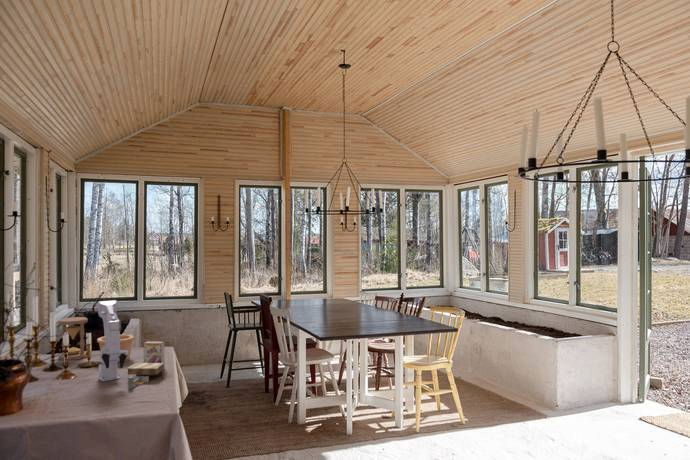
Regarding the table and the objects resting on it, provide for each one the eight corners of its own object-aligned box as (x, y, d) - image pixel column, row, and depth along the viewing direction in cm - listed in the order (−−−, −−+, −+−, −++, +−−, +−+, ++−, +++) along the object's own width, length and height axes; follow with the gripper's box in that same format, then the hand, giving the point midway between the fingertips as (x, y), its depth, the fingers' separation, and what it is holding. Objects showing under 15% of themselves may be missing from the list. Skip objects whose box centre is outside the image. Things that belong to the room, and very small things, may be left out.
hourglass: (52, 358, 363) (51, 320, 363) (74, 353, 379) (74, 316, 379) (72, 361, 356) (71, 322, 356) (94, 355, 372) (93, 317, 372)
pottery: (97, 358, 364) (96, 336, 363) (133, 354, 373) (132, 333, 373) (97, 365, 344) (97, 342, 344) (135, 361, 353) (135, 339, 353)
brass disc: (136, 385, 301) (136, 383, 301) (132, 383, 305) (132, 381, 305) (145, 383, 304) (145, 381, 304) (141, 381, 308) (141, 380, 308)
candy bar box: (143, 370, 331) (143, 342, 331) (147, 368, 336) (146, 341, 336) (161, 370, 330) (161, 343, 330) (165, 368, 335) (164, 341, 335)
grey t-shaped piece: (122, 389, 293) (122, 377, 293) (134, 381, 308) (134, 370, 308) (137, 389, 293) (137, 377, 293) (148, 381, 308) (148, 370, 308)
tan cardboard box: (127, 380, 309) (127, 368, 309) (136, 375, 321) (136, 362, 321) (156, 380, 308) (156, 368, 308) (164, 375, 320) (164, 362, 320)
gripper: (97, 344, 297) (97, 369, 297) (124, 344, 296) (124, 369, 296) (103, 341, 304) (104, 366, 304) (129, 341, 303) (130, 366, 303)
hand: (114, 368), depth 300 cm, fingers open, 7 cm apart
